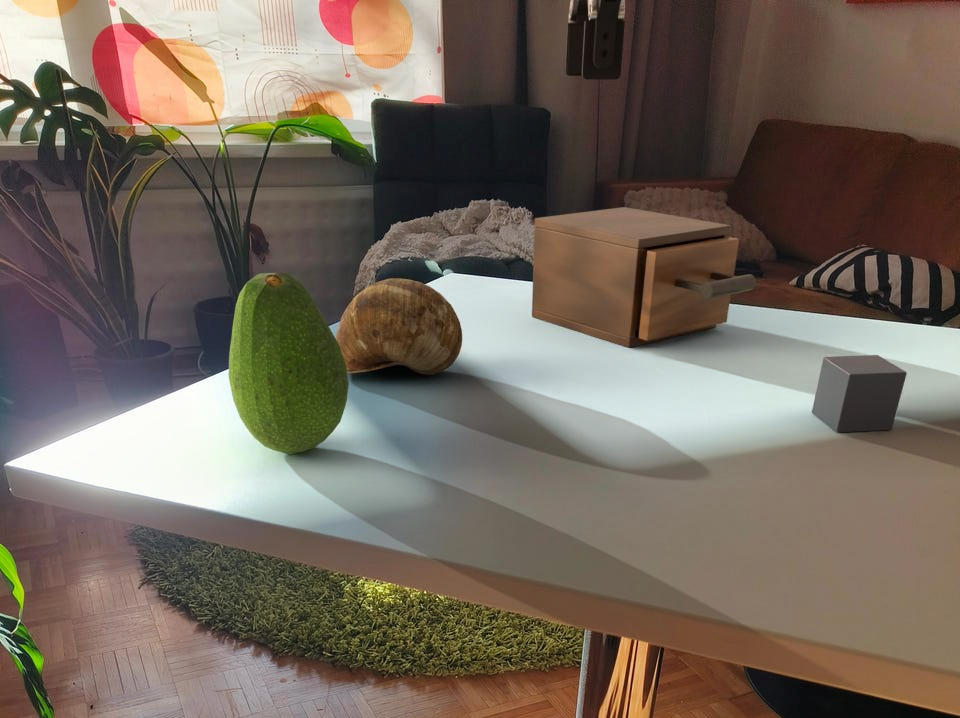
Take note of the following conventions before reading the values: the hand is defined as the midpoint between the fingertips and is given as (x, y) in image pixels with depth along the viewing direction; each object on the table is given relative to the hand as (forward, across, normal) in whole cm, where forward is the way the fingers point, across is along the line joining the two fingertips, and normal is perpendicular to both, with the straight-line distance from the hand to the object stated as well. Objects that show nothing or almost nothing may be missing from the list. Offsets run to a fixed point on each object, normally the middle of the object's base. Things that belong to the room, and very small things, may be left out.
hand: (591, 77), depth 78 cm
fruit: (+22, -31, +25) cm, 45 cm away
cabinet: (+22, +3, -5) cm, 23 cm away
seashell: (+22, -13, +18) cm, 31 cm away
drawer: (+21, -1, -8) cm, 22 cm away
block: (+22, -27, -17) cm, 39 cm away
